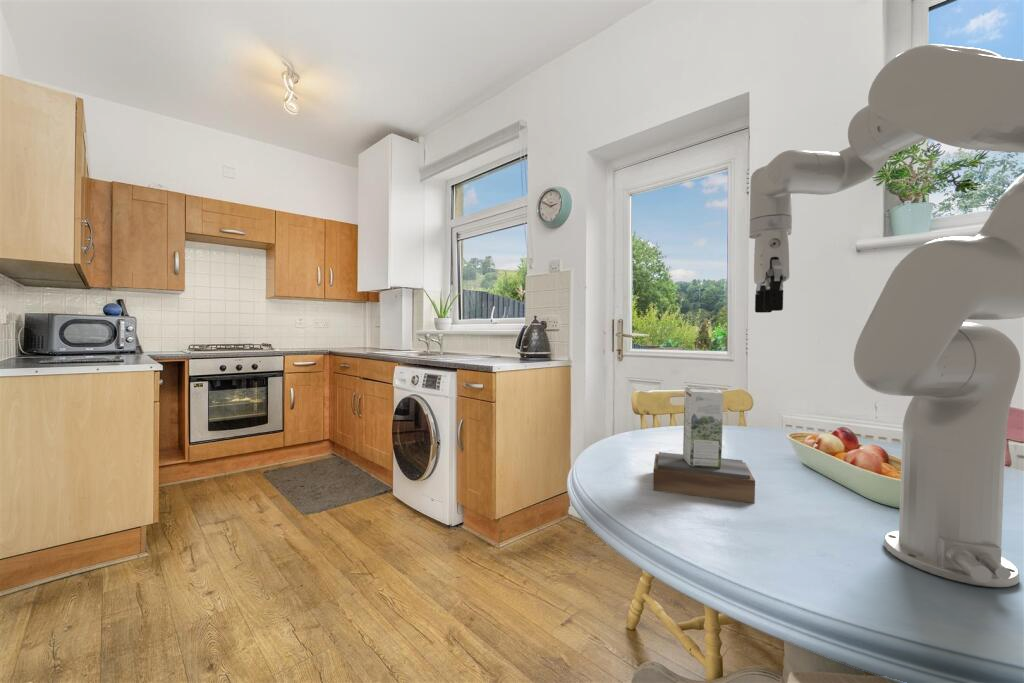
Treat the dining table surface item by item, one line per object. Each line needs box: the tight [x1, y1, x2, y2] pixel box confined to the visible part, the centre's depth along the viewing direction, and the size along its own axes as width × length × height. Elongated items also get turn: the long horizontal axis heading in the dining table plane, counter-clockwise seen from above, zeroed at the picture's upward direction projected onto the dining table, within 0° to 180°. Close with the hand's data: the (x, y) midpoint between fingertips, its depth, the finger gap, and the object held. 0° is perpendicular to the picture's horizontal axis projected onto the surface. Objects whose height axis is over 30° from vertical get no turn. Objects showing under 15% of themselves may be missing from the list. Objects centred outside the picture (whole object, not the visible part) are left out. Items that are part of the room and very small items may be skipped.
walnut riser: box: [652, 451, 756, 504], centre depth 84 cm, size 11×17×5 cm, turn 70°
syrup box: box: [682, 387, 725, 468], centre depth 84 cm, size 6×6×14 cm
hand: (768, 311), depth 90 cm, fingers open, 9 cm apart
